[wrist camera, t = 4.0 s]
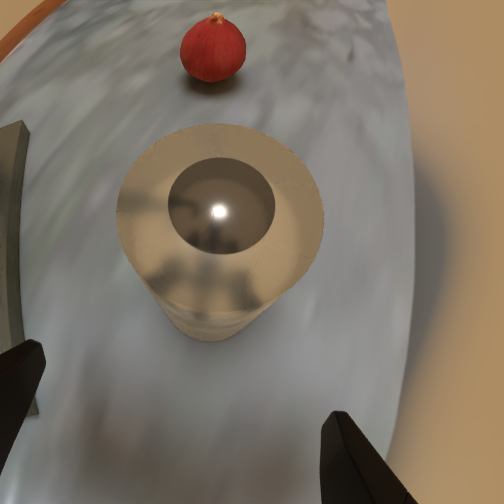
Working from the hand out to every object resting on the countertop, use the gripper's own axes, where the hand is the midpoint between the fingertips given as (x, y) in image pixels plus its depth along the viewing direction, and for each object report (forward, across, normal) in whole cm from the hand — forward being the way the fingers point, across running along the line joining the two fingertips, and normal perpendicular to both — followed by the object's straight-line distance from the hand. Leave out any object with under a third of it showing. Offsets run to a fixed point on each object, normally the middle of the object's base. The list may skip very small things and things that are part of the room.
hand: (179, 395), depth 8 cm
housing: (+12, 0, +5) cm, 13 cm away
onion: (+26, +5, -9) cm, 28 cm away
